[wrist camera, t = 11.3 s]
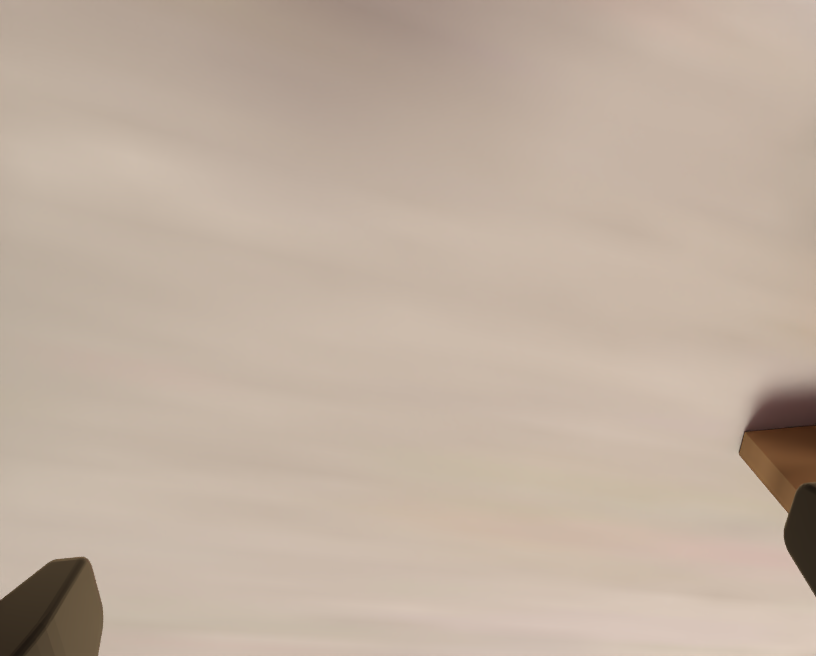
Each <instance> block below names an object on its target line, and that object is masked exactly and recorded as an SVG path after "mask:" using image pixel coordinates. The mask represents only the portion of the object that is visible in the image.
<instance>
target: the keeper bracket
mask: <svg viewBox="0 0 816 656" xmlns="http://www.w3.org/2000/svg"><path fill="white" fill-rule="evenodd" d="M739 455H740V456H741V458H742V459H743V460H744V461H745V462H746V464H747V465H748V466H749V467H750V468H751V470H752V471H753V472H754V473H755V474H756V475H757V477H758V478H759V479H760V480H761V481H762V483H763V484H764V485H765V486H766V487H767V489H768V490H769V491H770V492H771V493H772V495H773V496H774V497H775V498H776V499H777V500H778V502H779V503H780V504H781V505H782V506H783V508H784V509H785V510H786V511H787V512H788V514H789V511H790V508H791V505H792V502H793V499H794V495H795V492H796V490H797V489H798V487H799V486H800V485H802V484H804V483H809V482H816V425H814V426H803V427H793V428H782V429H771V430H760V431H750V432H745V434H744V437H743V441H742V445H741V449H740V453H739Z"/></svg>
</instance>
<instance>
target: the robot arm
mask: <svg viewBox="0 0 816 656" xmlns="http://www.w3.org/2000/svg"><path fill="white" fill-rule="evenodd" d="M784 541H785V545H786V547H787V550H788V552H789V554H790V555H791V557H792V559H793V560H794V562H795V564H796V565H797V567H798V568H799V570H800V572H801V573H802V575H803V577H804V578H805V580H806V582H807V583H808V585H809V586H810V588H811V590H812V591H813V593H814V595H815V596H816V482H809V483H804V484H802V485H800V486H799V487H798V489H797V490H796V492H795V495H794V499H793V502H792V505H791V508H790V511H789V514H788V517H787V521H786V524H785V527H784ZM102 629H103V607H102V602H101V599H100V595H99V591H98V587H97V584H96V580H95V576H94V572H93V569H92V565H91V563H90V561H89V560H88V559H87V558H85V557H74V558H64V559H56V560H53V561H51V562H49V563H47V564H46V565H45V566H43V567H42V568H41V569H40V570H38V571H37V572H36V573H35V574H33V575H32V576H31V577H29V578H28V579H27V580H26V581H24V582H23V583H22V584H20V585H19V586H18V587H17V588H15V589H14V590H13V591H12V592H10V593H9V594H8V595H6V596H5V597H4V598H3V599H1V600H0V656H98V652H99V647H100V641H101V635H102Z"/></svg>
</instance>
